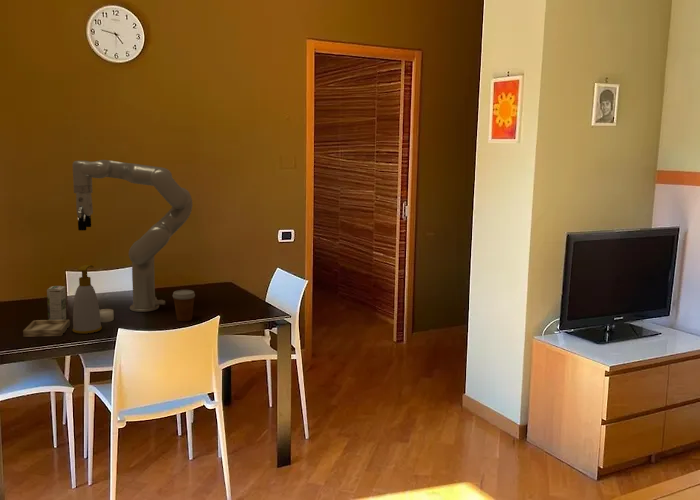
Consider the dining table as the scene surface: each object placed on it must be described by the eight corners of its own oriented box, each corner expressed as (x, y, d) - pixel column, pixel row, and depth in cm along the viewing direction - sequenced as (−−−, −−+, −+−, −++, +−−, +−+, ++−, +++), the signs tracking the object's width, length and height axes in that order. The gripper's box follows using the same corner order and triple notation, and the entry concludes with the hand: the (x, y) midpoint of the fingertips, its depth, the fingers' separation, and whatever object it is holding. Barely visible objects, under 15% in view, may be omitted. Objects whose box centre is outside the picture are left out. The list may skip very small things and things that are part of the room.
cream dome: (115, 317, 292) (114, 308, 291) (112, 322, 285) (111, 313, 285) (98, 318, 291) (97, 309, 290) (94, 322, 284) (94, 313, 283)
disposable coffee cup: (184, 323, 285) (183, 296, 283) (168, 320, 290) (167, 292, 288) (200, 318, 293) (200, 291, 291) (184, 315, 298) (184, 288, 296)
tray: (70, 325, 279) (69, 319, 279) (61, 335, 266) (61, 329, 265) (33, 326, 277) (33, 320, 277) (23, 336, 263) (23, 330, 263)
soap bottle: (107, 327, 278) (105, 264, 274) (92, 335, 267) (89, 270, 262) (82, 325, 280) (79, 262, 275) (66, 333, 269) (62, 268, 264)
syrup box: (52, 319, 288) (50, 285, 285) (67, 319, 288) (65, 285, 285) (48, 323, 282) (46, 289, 279) (62, 322, 282) (60, 289, 280)
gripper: (87, 191, 285) (89, 231, 288) (96, 187, 302) (97, 225, 305) (69, 191, 284) (71, 231, 287) (78, 187, 301) (80, 225, 304)
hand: (84, 228), depth 296 cm, fingers open, 9 cm apart
